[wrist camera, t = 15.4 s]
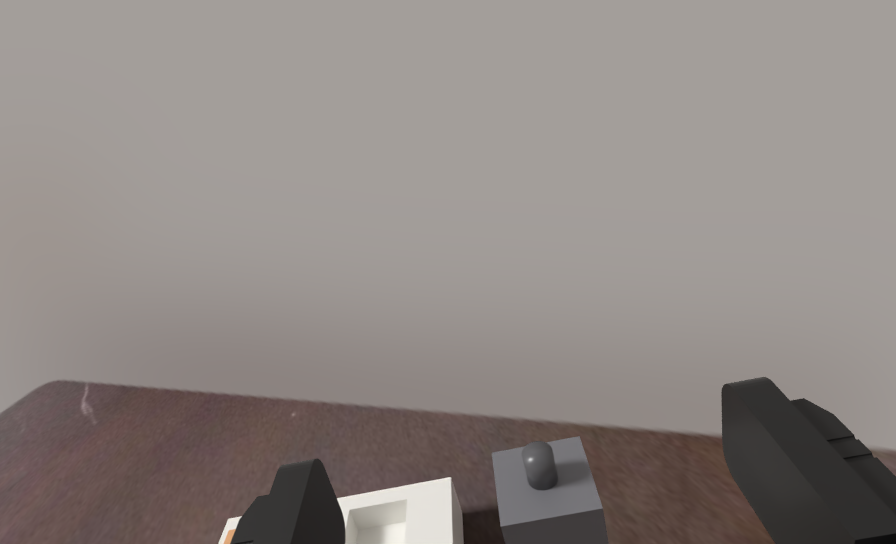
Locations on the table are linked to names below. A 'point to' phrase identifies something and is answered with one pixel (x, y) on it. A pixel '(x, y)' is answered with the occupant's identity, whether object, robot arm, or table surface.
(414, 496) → the power strip
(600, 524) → the charger
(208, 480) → the table surface
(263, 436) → the table surface
